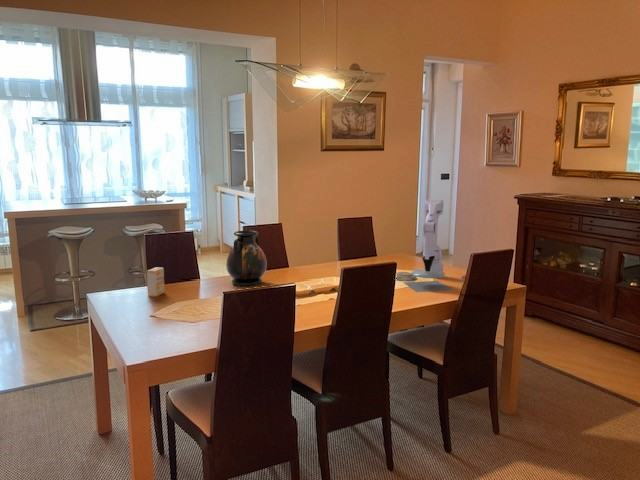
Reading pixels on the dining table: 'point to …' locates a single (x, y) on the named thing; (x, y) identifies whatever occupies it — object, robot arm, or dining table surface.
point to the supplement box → (155, 281)
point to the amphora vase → (246, 260)
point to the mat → (427, 286)
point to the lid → (428, 273)
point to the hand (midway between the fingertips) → (428, 270)
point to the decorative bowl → (405, 276)
